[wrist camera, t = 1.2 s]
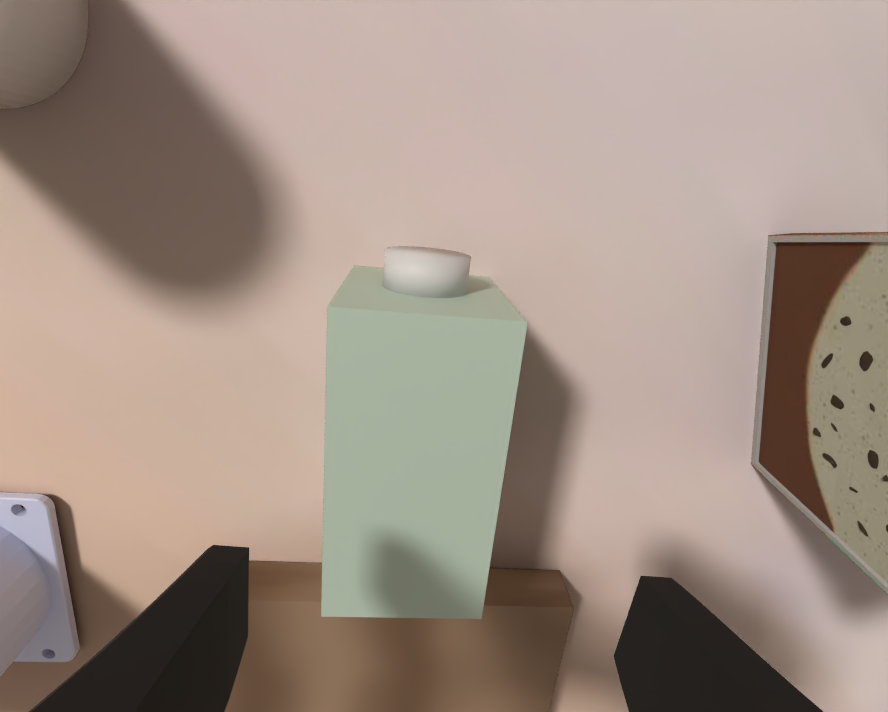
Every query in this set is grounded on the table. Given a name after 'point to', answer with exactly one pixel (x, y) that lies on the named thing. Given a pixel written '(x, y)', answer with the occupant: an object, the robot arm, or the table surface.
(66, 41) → the white rounded canister
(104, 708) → the robot arm
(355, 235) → the table surface
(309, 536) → the table surface
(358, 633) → the walnut stand
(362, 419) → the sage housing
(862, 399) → the food container
